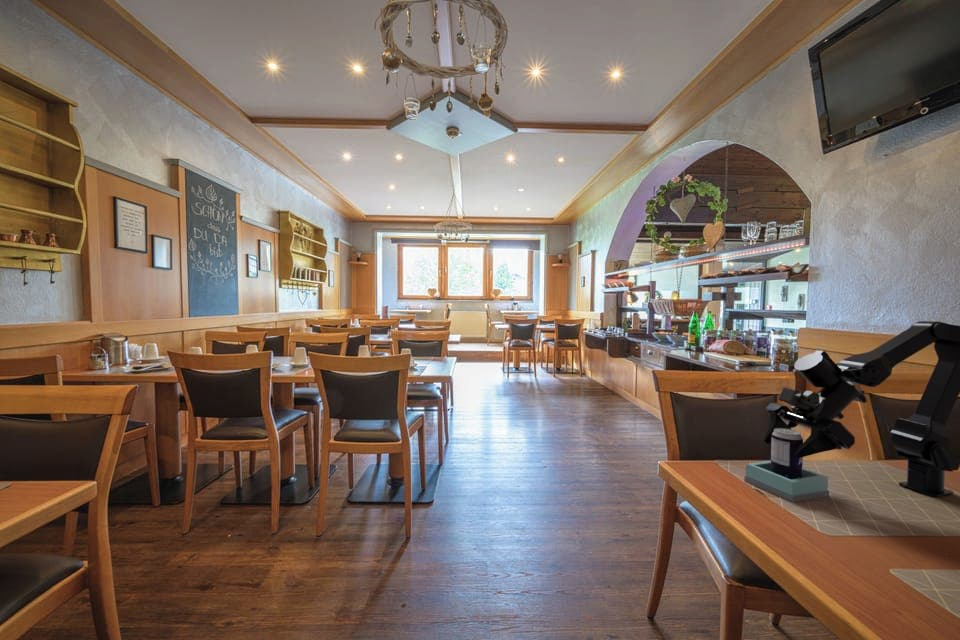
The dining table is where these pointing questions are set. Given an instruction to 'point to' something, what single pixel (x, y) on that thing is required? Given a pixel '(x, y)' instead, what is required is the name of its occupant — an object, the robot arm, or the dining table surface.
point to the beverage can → (786, 453)
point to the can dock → (787, 482)
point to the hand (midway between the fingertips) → (780, 449)
